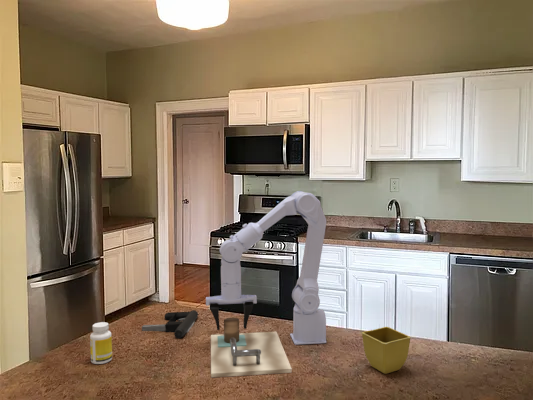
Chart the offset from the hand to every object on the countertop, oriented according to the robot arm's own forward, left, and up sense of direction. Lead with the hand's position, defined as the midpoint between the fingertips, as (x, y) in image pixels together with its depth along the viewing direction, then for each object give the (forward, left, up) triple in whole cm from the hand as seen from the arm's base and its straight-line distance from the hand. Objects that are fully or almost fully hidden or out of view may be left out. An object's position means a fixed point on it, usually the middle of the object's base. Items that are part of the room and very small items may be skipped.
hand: (231, 328), depth 131 cm
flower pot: (-38, +21, -5) cm, 44 cm away
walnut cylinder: (0, 0, -4) cm, 4 cm away
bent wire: (-3, +11, -4) cm, 12 cm away
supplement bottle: (+35, +6, -5) cm, 36 cm away
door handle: (+19, -18, -6) cm, 26 cm away
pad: (0, 0, -5) cm, 5 cm away
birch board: (-4, +7, -5) cm, 9 cm away
